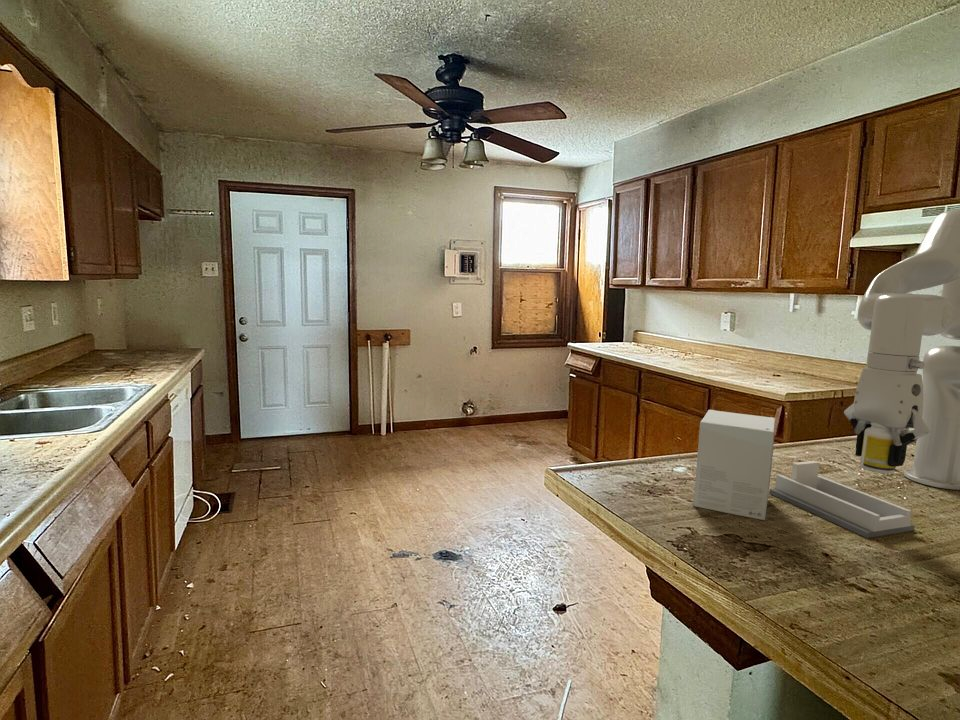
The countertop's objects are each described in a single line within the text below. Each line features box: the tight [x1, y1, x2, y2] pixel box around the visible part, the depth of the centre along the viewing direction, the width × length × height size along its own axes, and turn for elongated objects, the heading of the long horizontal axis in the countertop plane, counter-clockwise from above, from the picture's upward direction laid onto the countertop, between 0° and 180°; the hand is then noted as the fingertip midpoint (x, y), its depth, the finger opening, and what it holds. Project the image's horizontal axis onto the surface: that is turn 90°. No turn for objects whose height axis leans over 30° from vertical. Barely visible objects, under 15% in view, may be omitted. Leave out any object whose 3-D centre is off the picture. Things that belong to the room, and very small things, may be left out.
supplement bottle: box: [859, 423, 897, 475], centre depth 106 cm, size 5×5×10 cm
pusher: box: [790, 460, 820, 489], centre depth 122 cm, size 6×1×6 cm, turn 109°
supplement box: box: [692, 409, 776, 521], centre depth 116 cm, size 13×13×18 cm
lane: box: [768, 474, 916, 539], centre depth 115 cm, size 12×22×4 cm, turn 19°
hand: (878, 459), depth 107 cm, fingers closed on supplement bottle, 5 cm apart
